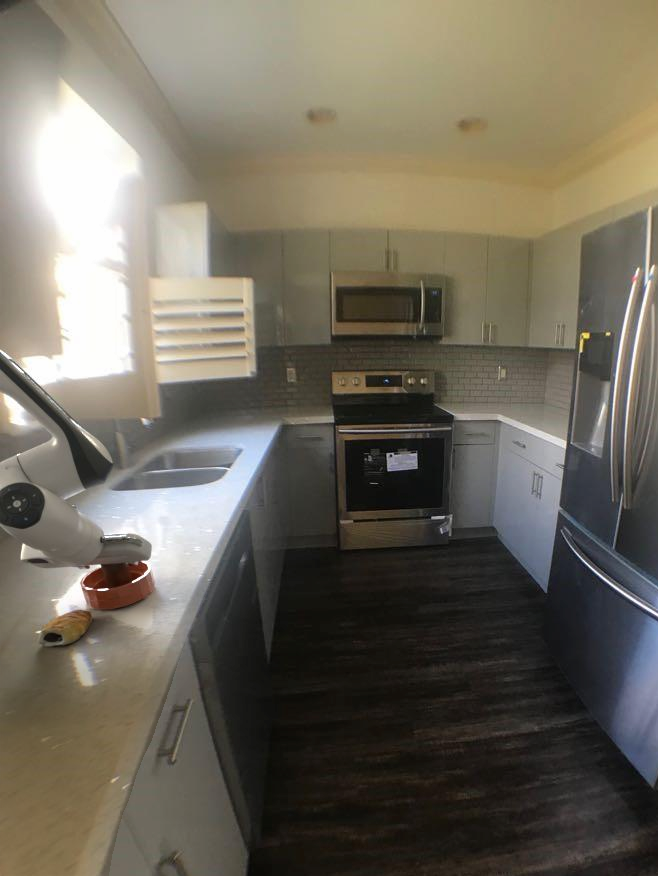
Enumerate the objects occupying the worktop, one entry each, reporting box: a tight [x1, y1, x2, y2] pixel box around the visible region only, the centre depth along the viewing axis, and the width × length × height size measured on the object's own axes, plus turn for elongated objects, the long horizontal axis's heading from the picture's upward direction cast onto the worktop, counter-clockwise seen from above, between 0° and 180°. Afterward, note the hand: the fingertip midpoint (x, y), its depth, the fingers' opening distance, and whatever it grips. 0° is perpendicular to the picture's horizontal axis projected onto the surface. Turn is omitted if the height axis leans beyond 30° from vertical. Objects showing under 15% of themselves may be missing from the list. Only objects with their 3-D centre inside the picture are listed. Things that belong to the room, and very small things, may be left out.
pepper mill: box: [100, 563, 133, 589], centre depth 96 cm, size 5×5×11 cm
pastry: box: [37, 609, 93, 648], centre depth 85 cm, size 9×7×4 cm
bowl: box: [79, 561, 156, 610], centre depth 97 cm, size 13×13×5 cm
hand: (110, 563), depth 95 cm, fingers open, 8 cm apart
